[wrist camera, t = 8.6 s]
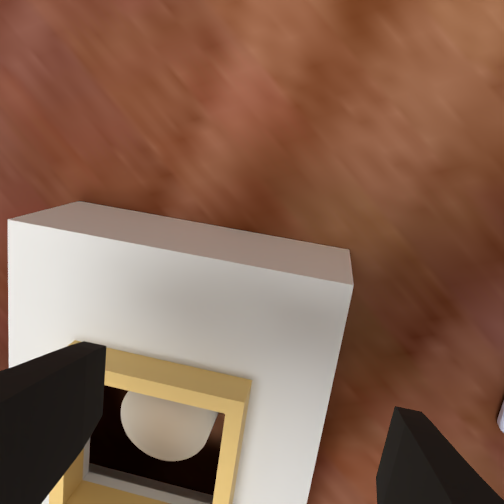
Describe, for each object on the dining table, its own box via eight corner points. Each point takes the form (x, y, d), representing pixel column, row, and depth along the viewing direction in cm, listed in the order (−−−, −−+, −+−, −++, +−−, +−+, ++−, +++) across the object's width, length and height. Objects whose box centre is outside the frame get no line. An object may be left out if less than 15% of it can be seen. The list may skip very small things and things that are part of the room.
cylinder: (235, 346, 22) (214, 390, 18) (225, 415, 23) (204, 470, 20) (158, 331, 23) (123, 370, 19) (152, 399, 24) (118, 449, 20)
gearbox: (349, 249, 20) (355, 300, 14) (290, 531, 24) (275, 666, 18) (23, 190, 22) (-99, 212, 16) (22, 459, 26) (-73, 558, 20)
